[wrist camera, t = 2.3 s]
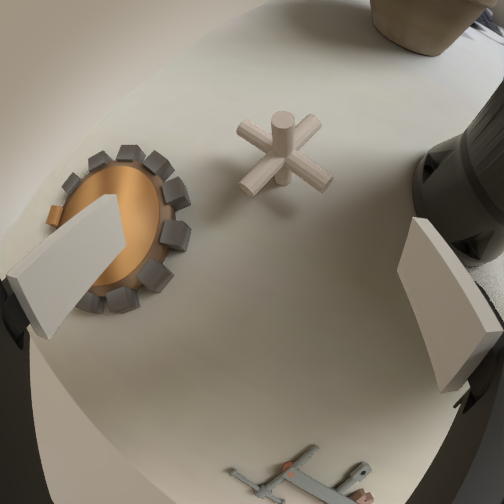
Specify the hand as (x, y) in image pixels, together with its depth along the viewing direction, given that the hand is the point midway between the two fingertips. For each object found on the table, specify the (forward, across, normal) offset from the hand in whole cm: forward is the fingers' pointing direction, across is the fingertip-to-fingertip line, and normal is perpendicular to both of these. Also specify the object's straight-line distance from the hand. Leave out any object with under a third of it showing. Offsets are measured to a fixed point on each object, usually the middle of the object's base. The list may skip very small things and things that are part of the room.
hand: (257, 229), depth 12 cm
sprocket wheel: (+14, -18, -9) cm, 25 cm away
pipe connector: (+19, 0, -4) cm, 20 cm away
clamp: (-3, +7, -27) cm, 28 cm away
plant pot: (+45, +23, +22) cm, 55 cm away
